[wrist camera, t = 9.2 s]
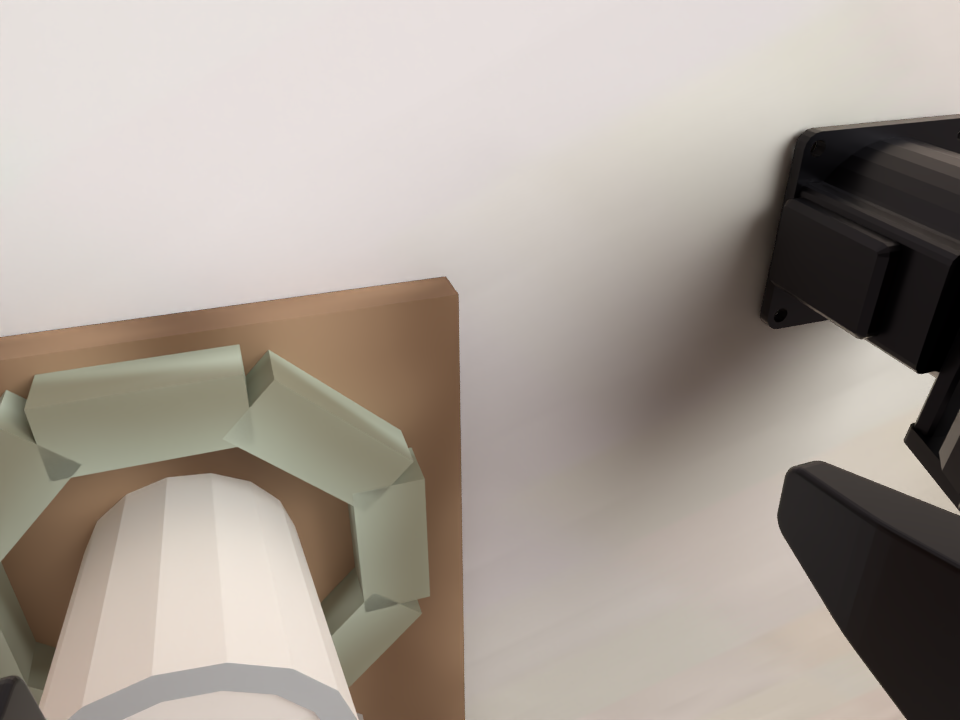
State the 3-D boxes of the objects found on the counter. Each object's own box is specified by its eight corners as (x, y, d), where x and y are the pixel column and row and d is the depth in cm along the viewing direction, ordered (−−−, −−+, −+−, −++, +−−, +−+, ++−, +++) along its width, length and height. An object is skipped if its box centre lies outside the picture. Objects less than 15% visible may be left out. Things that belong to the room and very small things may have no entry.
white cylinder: (16, 493, 19) (-54, 744, 13) (293, 427, 21) (334, 625, 15) (106, 668, 23) (81, 923, 17) (335, 599, 24) (382, 812, 19)
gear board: (445, 276, 21) (493, 343, 18) (457, 778, 34) (487, 872, 30) (-249, 371, 17) (-351, 482, 14) (56, 908, 29) (40, 1034, 26)
